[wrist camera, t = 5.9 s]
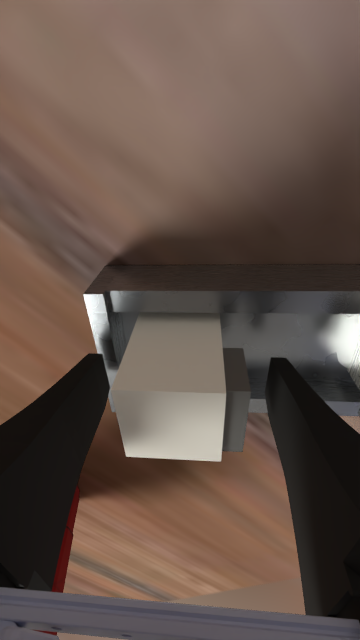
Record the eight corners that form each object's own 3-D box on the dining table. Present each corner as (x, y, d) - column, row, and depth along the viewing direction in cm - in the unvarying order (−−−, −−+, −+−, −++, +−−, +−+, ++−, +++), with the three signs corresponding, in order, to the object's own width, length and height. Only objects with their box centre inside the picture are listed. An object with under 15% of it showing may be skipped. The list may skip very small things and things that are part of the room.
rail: (399, 379, 16) (499, 504, 11) (125, 372, 18) (88, 480, 12) (459, 263, 13) (661, 363, 7) (105, 265, 14) (39, 351, 8)
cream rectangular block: (142, 305, 13) (110, 389, 9) (236, 305, 13) (253, 394, 9) (149, 362, 15) (126, 456, 11) (231, 364, 15) (242, 462, 11)
